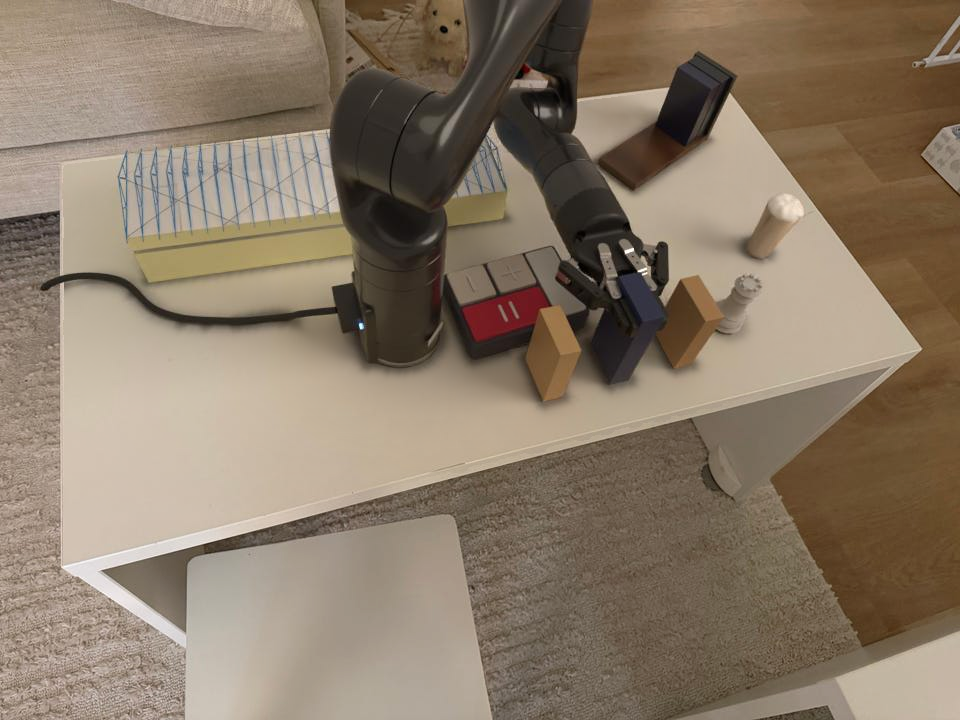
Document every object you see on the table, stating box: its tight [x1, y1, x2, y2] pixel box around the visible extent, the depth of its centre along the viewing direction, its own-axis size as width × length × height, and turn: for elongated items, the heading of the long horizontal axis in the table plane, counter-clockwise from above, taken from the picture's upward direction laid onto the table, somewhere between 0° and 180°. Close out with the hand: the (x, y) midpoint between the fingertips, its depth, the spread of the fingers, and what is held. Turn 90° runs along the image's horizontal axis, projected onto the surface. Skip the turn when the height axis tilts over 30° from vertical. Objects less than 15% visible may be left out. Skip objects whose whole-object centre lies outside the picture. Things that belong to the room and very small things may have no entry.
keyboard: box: [116, 130, 509, 283], centre depth 83 cm, size 45×15×10 cm, turn 105°
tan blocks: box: [524, 274, 724, 402], centre depth 75 cm, size 19×6×10 cm, turn 108°
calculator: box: [443, 245, 591, 360], centre depth 80 cm, size 11×4×15 cm
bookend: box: [597, 50, 738, 192], centre depth 95 cm, size 18×7×11 cm, turn 133°
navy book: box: [589, 272, 665, 386], centre depth 74 cm, size 3×6×13 cm, turn 18°
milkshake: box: [745, 192, 815, 259], centre depth 87 cm, size 5×5×10 cm
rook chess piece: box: [715, 273, 763, 334], centre depth 81 cm, size 4×4×8 cm
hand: (648, 329), depth 69 cm, fingers closed on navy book, 2 cm apart
